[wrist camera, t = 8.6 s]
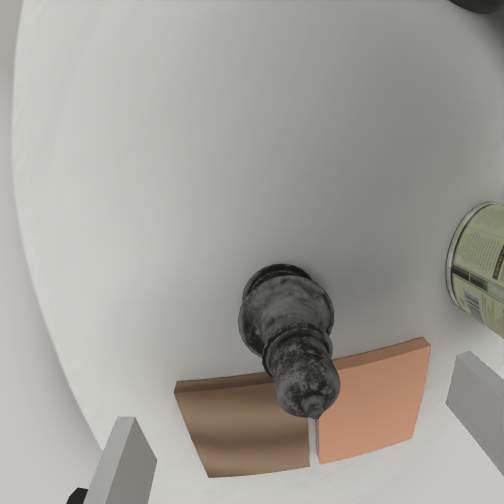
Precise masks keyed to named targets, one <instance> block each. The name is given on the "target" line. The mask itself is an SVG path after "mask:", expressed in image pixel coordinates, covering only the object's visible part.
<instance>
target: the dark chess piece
mask: <svg viewBox="0 0 504 504" xmlns="http://www.w3.org/2000/svg"><path fill="white" fill-rule="evenodd" d="M333 323H334V309H333V305H332V301H331V299H330V298H329V296H328V295H327V293H326V291H325V290H324V289H323V288H322V287H320V286H319V285H318V284H317V283H315V282H313V281H312V279H311V278H310V276H309V275H308V274H307V273H305V272H304V271H303V270H302V269H300V268H298V267H296V266H293V265H288V264H274V265H271V266H268V267H265V268H263V269H261V270H260V271H258V272H257V273H255V274H254V275H253V277H252V278H251V279H250V280H249V281H248V283H247V285H246V287H245V289H244V293H243V304H242V306H241V308H240V313H239V318H238V324H239V332H240V335H241V337H242V340H243V342H244V343H245V344H246V346H247V347H248V348H249V349H250V351H252V352H253V353H255V354H256V355H257V356H259V357H261V358H262V364H263V366H264V369H265V371H266V372H267V374H268V375H269V376H270V377H271V378H273V383H274V389H275V395H276V399H277V401H278V403H279V405H280V407H281V408H282V409H283V410H284V411H285V412H287V413H289V414H290V415H293V416H297V417H304V418H307V417H310V418H313V419H316V420H317V419H319V417H321V415H322V414H323V412H325V411H326V410H327V409H329V408H330V407H331V406H332V405H333V403H334V402H335V401H336V399H337V397H338V395H339V393H340V387H341V384H340V378H339V374H338V372H337V370H336V368H335V366H334V364H333V362H332V360H331V357H332V351H333V347H332V343H331V340H330V338H329V335H330V332H331V329H332V326H333Z"/></svg>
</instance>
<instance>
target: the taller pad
mask: <svg viewBox="0 0 504 504" xmlns="http://www.w3.org/2000/svg"><path fill="white" fill-rule="evenodd" d="M430 349H431V345H430V344H429V343H428V342H427V341H426V340H425V339H424V338H423V337H422V338H419V339H415V340H412V341H408V342H405V343H401V344H398V345H394V346H390V347H386V348H383V349H379V350H375V351H371V352H367V353H363V354H358V355H354V356H350V357H345V358H341V359H336V360H332V362H333V364H334V366H335V368H336V370H337V372H338V374H339V378H340V384H341V387H340V393H339V395H338V397H337V399H336V401H335V402H334V403H333V405H332V406H331V407H330V408H329V409H327V410H326V411H325V412H323V414H322V415H321V417H319V419H317V420H316V436H317V456H318V460H319V464H324V463H329V462H333V461H337V460H341V459H346V458H350V457H353V456H357V455H361V454H364V453H368V452H371V451H375V450H378V449H381V448H384V447H388V446H391V445H394V444H397V443H400V442H402V441H405V440H408V439H411V438H412V435H413V432H414V428H415V424H416V420H417V416H418V412H419V408H420V403H421V399H422V394H423V389H424V384H425V379H426V374H427V368H428V362H429V356H430Z"/></svg>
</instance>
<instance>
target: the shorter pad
mask: <svg viewBox="0 0 504 504" xmlns="http://www.w3.org/2000/svg"><path fill="white" fill-rule="evenodd" d="M174 395H175V397H176V400H177V403H178V406H179V408H180V411H181V413H182V416H183V419H184V421H185V424H186V426H187V429H188V431H189V434H190V436H191V439H192V441H193V443H194V446H195V448H196V450H197V453H198V455H199V457H200V460H201V462H202V464H203V466H204V469H205V471H206V473H207V475H208V477H209V478H216V477H233V476H245V475H255V474H264V473H272V472H279V471H286V470H292V469H298V468H304V467H309V466H310V462H309V442H308V425H307V418H304V417H297V416H293V415H290V414H289V413H287V412H285V411H284V410H283V409H282V408H281V407H280V405H279V403H278V401H277V399H276V395H275V389H274V383H273V378H271V377H270V376H269V375H268V374H267V372H263V373H256V374H249V375H241V376H233V377H224V378H215V379H205V380H193V381H180V382H177V383H176V387H175V390H174Z"/></svg>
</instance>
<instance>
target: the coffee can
mask: <svg viewBox="0 0 504 504" xmlns="http://www.w3.org/2000/svg"><path fill="white" fill-rule="evenodd" d="M446 282H447V286H448V290H449V293H450V296H451V298H452V300H453V301H454V303H455V304H456V305H457V306H458V307H459V308H460V309H461V310H463V311H465V312H467V313H469V314H470V315H472V316H473V317H475V318H476V319H477V320H479V321H480V322H482V323H483V324H484V325H486V326H487V327H489V328H490V329H491V330H493V331H494V332H495V333H497V334H498V335H500V336H501V337H502V338H504V205H501V204H499V203H495V202H486V203H482V204H480V205H478V206H476V207H475V208H474V209H472V210H471V211H470V212H469V213H468V214H467V215H466V216H465V218H464V219H463V220H462V222H461V223H460V225H459V227H458V228H457V230H456V233H455V234H454V237H453V239H452V243H451V246H450V249H449V253H448V258H447V266H446Z"/></svg>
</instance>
